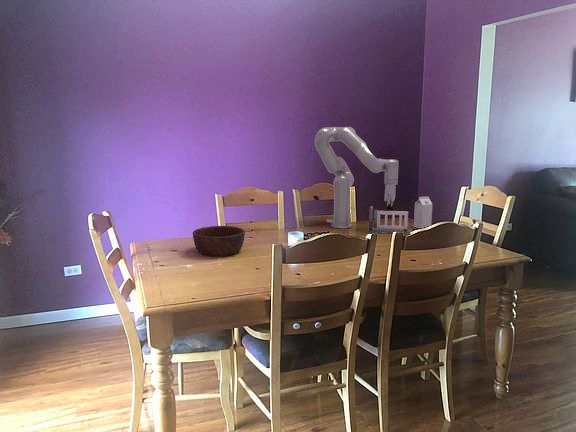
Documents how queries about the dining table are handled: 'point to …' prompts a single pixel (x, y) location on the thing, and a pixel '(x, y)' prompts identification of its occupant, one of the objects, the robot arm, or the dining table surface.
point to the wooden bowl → (218, 240)
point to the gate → (393, 213)
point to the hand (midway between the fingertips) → (389, 213)
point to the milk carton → (423, 212)
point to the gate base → (373, 230)
